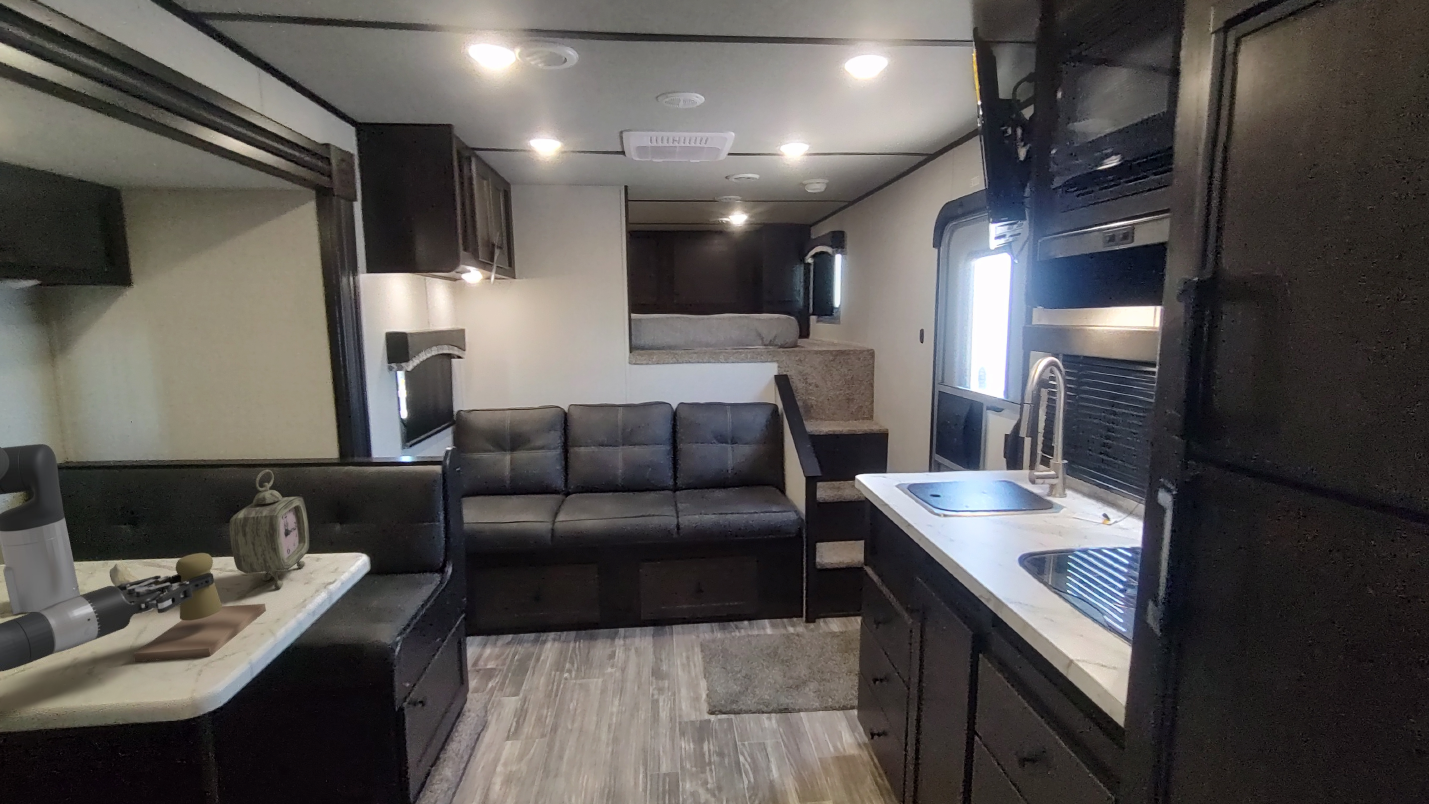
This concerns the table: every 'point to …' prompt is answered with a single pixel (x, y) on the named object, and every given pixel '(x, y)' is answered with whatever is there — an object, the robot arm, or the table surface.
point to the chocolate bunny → (121, 575)
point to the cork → (204, 598)
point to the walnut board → (200, 634)
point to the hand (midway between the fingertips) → (203, 575)
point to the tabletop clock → (270, 533)
